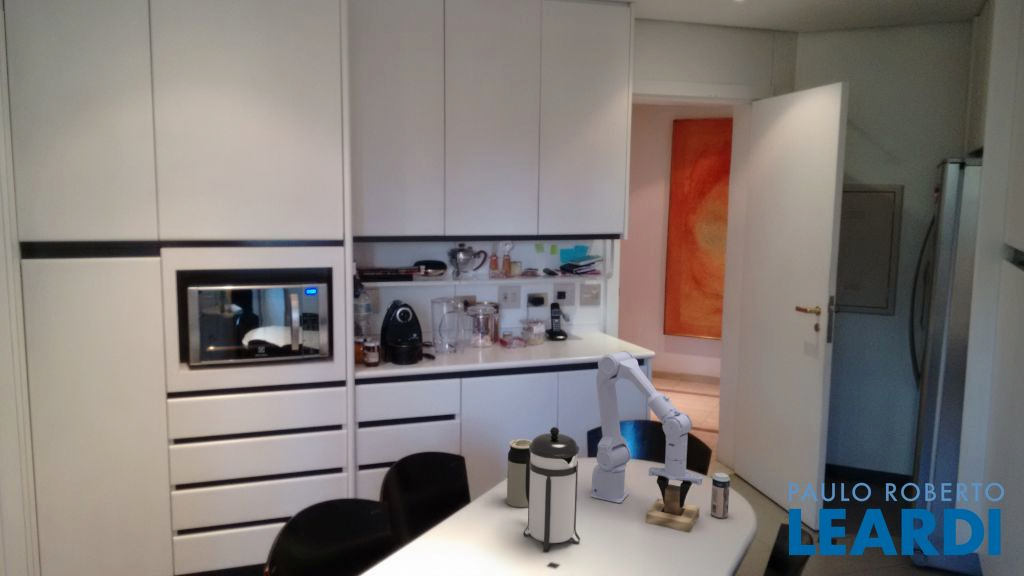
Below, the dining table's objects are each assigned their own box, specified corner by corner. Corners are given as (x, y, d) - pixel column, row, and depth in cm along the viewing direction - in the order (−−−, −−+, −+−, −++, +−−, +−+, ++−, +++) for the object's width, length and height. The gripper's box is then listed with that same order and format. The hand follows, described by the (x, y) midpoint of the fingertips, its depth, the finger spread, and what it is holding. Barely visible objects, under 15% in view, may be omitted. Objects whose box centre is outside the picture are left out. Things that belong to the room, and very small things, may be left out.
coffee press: (586, 530, 182) (590, 421, 179) (572, 557, 167) (576, 439, 164) (525, 519, 188) (528, 414, 185) (506, 545, 173) (508, 430, 170)
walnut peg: (664, 513, 189) (665, 489, 189) (667, 507, 193) (669, 484, 192) (678, 516, 188) (679, 492, 187) (681, 510, 191) (683, 487, 190)
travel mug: (538, 500, 201) (539, 441, 199) (527, 510, 194) (528, 449, 192) (513, 495, 204) (515, 437, 203) (502, 504, 197) (503, 444, 195)
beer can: (728, 519, 191) (731, 478, 190) (711, 518, 192) (713, 477, 190) (726, 512, 195) (729, 472, 194) (709, 511, 196) (711, 471, 195)
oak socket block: (645, 522, 188) (646, 513, 188) (657, 506, 199) (657, 498, 198) (689, 532, 183) (689, 523, 182) (699, 515, 193) (699, 507, 193)
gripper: (646, 457, 189) (644, 504, 190) (699, 466, 182) (696, 515, 183) (653, 449, 195) (651, 495, 196) (704, 458, 188) (702, 505, 190)
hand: (673, 504), depth 190 cm, fingers closed on walnut peg, 4 cm apart
